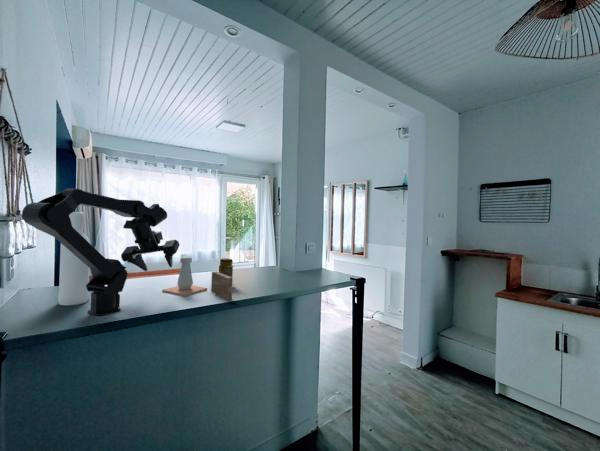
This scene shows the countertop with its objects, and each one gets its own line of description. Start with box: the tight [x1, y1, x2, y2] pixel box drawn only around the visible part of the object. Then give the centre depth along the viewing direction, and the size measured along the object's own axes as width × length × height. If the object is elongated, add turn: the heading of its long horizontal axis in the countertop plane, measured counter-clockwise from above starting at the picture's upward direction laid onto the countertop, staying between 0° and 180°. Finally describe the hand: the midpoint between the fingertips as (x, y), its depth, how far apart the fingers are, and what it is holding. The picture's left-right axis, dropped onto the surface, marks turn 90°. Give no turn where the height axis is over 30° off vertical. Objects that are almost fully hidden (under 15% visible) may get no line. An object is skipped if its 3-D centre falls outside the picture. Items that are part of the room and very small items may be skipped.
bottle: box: [57, 211, 91, 307], centre depth 94 cm, size 8×8×30 cm
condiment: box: [218, 257, 234, 289], centre depth 126 cm, size 7×8×12 cm
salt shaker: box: [177, 256, 194, 290], centre depth 114 cm, size 6×6×13 cm
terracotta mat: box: [161, 284, 208, 297], centre depth 115 cm, size 12×12×1 cm
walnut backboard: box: [210, 271, 234, 300], centre depth 111 cm, size 2×14×8 cm, turn 41°
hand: (159, 268), depth 107 cm, fingers open, 9 cm apart
